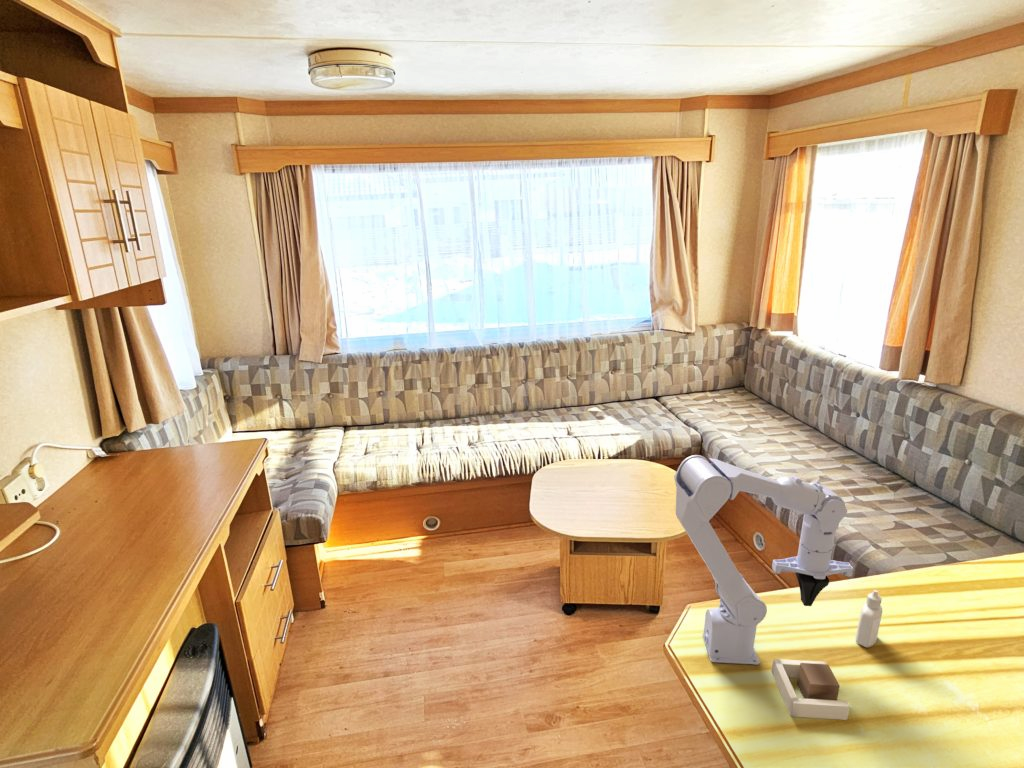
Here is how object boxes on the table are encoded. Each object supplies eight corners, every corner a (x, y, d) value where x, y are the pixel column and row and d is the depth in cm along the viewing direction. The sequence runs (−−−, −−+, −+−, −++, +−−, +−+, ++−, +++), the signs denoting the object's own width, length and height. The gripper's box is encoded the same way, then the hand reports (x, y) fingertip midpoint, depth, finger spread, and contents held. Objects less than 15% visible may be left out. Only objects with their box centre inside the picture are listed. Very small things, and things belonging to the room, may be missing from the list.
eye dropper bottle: (885, 644, 121) (896, 595, 117) (862, 649, 120) (873, 600, 116) (868, 629, 125) (878, 582, 121) (846, 634, 124) (855, 586, 120)
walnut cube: (806, 705, 107) (810, 683, 105) (796, 683, 112) (800, 662, 110) (835, 707, 106) (839, 685, 105) (824, 685, 111) (828, 664, 110)
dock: (790, 716, 105) (793, 703, 104) (771, 671, 114) (773, 658, 114) (847, 719, 104) (849, 706, 103) (822, 674, 114) (825, 661, 113)
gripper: (784, 555, 111) (775, 614, 115) (864, 558, 110) (852, 618, 114) (772, 534, 118) (764, 591, 122) (847, 537, 117) (837, 594, 121)
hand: (806, 602), depth 119 cm, fingers closed
